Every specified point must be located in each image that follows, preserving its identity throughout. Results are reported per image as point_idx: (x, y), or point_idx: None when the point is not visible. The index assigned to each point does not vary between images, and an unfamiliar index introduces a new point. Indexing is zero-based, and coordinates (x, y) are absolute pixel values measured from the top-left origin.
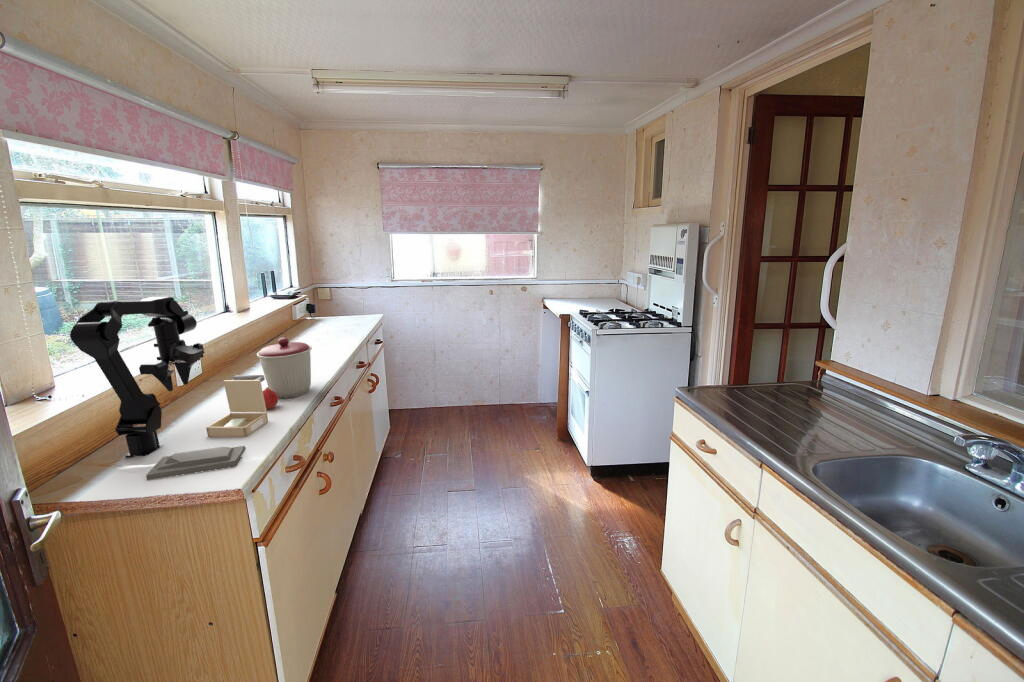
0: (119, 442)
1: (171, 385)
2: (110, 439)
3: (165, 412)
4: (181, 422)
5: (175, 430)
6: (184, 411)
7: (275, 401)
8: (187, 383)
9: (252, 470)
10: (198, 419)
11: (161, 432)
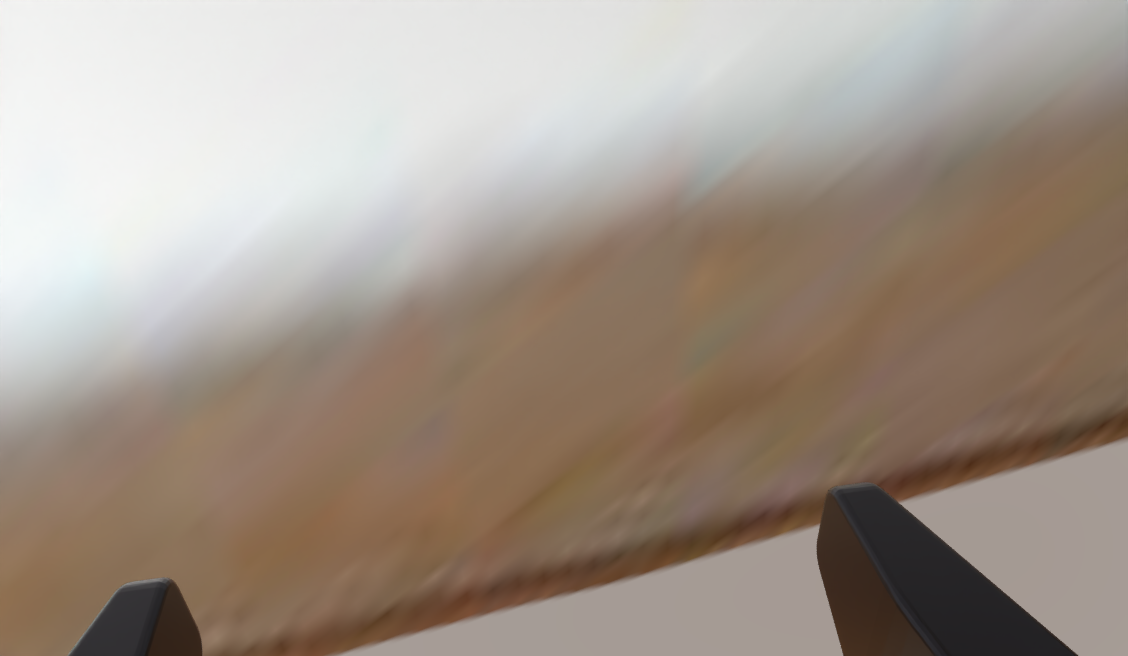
0: (952, 383)
1: (987, 630)
2: None
3: None
4: (355, 191)
5: (643, 30)
6: (16, 456)
7: None
8: (135, 593)
9: None
10: (180, 17)
11: (710, 173)
